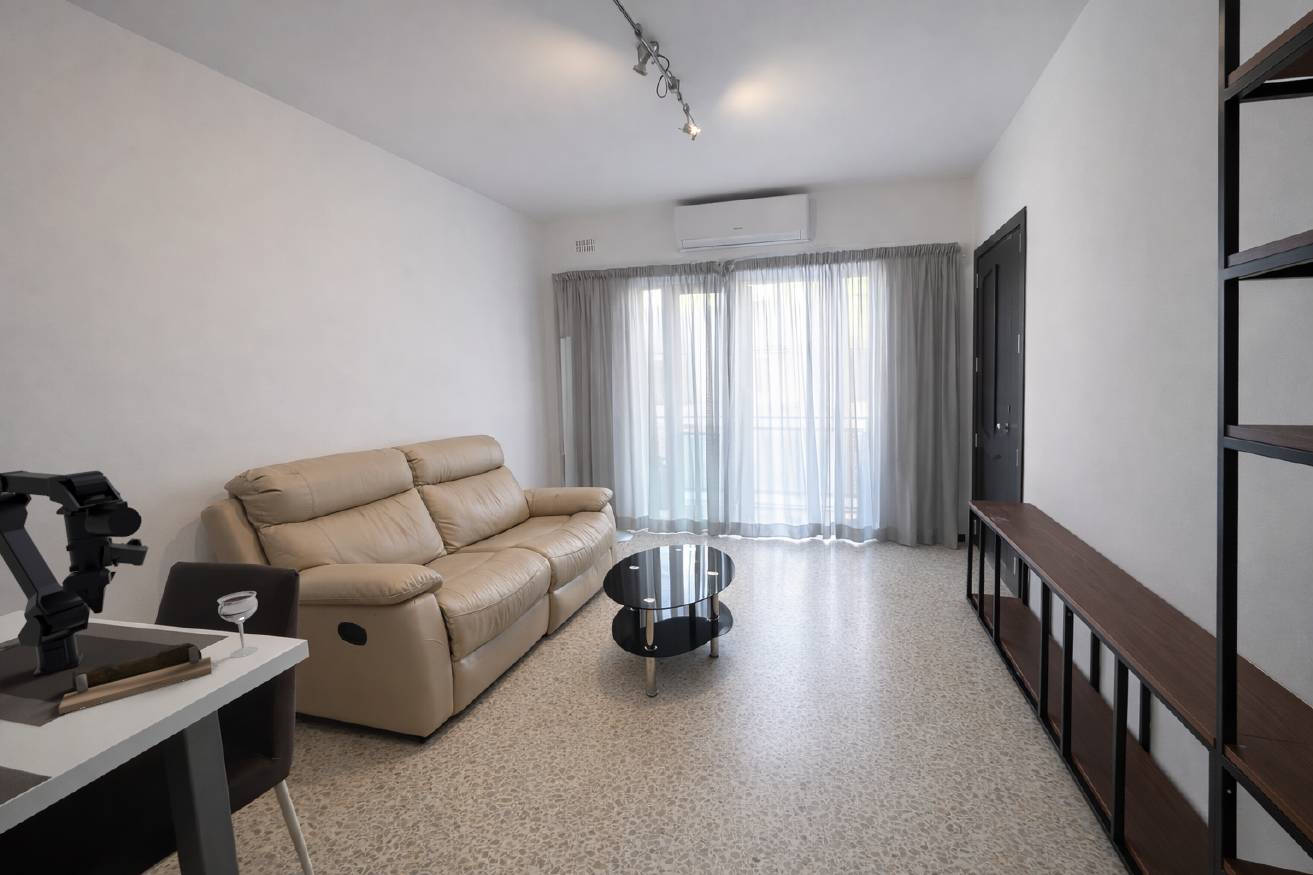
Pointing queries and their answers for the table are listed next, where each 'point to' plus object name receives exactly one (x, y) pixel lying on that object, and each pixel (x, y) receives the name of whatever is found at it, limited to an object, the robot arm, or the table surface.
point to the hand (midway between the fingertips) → (98, 612)
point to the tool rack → (134, 683)
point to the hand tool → (136, 665)
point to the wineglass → (239, 615)
